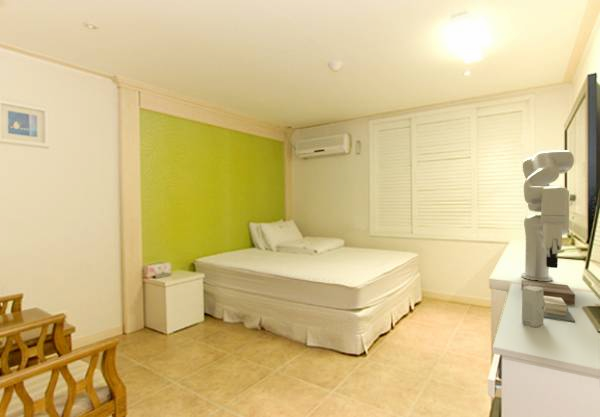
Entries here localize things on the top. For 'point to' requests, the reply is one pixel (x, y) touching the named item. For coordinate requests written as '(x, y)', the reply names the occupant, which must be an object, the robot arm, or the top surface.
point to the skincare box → (532, 306)
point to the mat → (560, 316)
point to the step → (553, 290)
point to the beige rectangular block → (554, 305)
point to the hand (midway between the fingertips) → (551, 266)
